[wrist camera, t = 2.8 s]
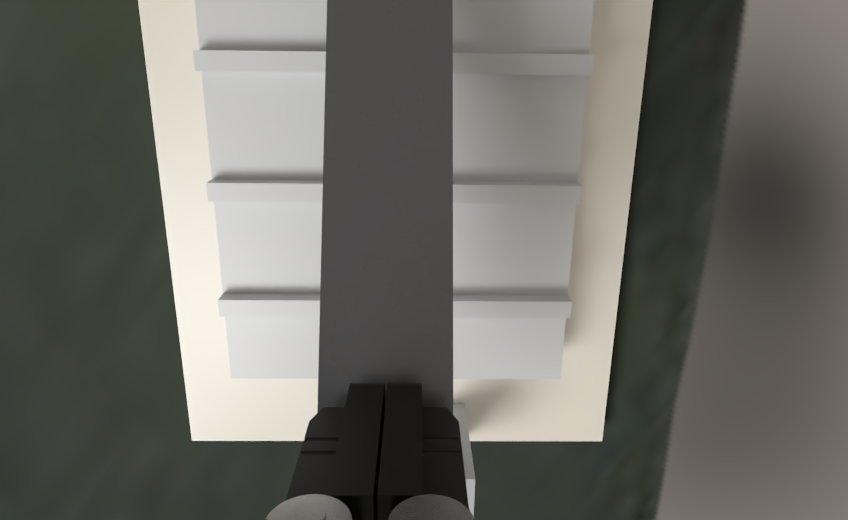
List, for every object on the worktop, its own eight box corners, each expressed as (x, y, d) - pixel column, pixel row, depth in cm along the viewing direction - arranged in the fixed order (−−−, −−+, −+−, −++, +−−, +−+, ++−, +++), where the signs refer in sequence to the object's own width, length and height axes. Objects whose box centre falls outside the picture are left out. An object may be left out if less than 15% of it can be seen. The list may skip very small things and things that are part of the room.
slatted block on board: (129, -173, 20) (20, -259, 14) (661, -164, 20) (753, -245, 15) (199, 426, 27) (144, 523, 21) (595, 427, 27) (641, 523, 22)
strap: (337, -185, 17) (331, -225, 16) (449, -183, 17) (452, -223, 16) (319, 635, 14) (310, 662, 13) (450, 635, 14) (453, 662, 13)
